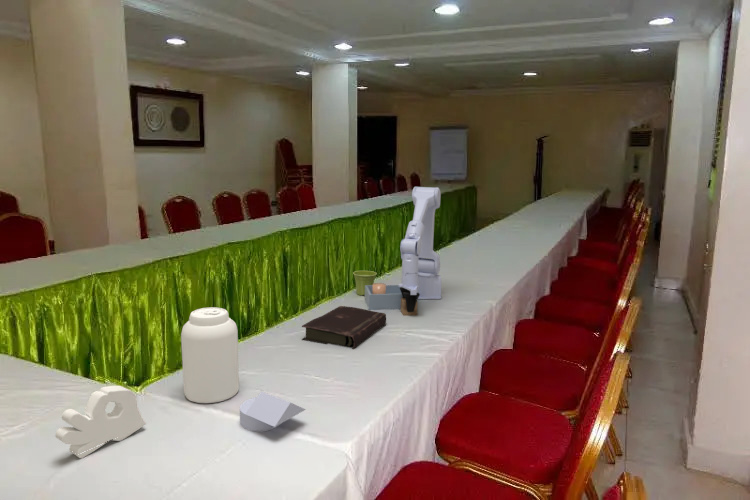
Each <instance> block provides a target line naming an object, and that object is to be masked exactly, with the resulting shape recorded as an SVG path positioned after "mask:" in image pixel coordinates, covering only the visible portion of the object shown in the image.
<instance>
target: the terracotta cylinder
mask: <svg viewBox="0 0 750 500" xmlns="http://www.w3.org/2000/svg"><path fill="white" fill-rule="evenodd" d="M386 285H387V284H386V283H383V282H376V283H375V282H374V284H373V288H372V294H386Z"/></svg>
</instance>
